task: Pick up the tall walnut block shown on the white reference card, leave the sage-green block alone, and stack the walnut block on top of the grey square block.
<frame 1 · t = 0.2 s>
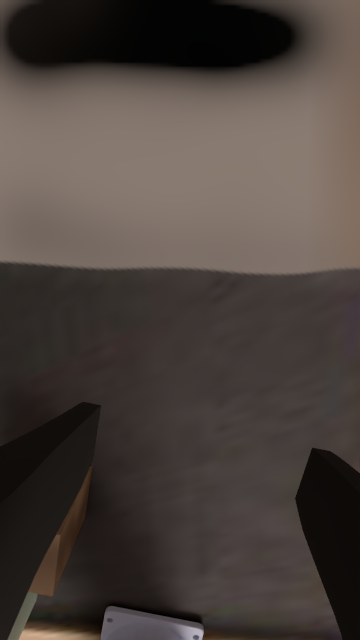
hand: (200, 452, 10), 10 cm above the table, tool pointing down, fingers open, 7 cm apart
sage block: (11, 572, 25), on the table
walnut block: (58, 486, 23), on the table
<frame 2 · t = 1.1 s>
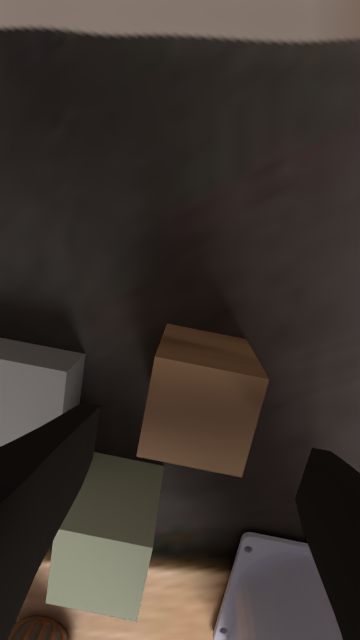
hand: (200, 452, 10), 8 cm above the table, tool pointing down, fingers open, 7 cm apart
grey square block: (25, 394, 19), on the table
sage block: (123, 488, 20), on the table
vase: (43, 632, 23), on the table
walnut block: (198, 368, 18), on the table
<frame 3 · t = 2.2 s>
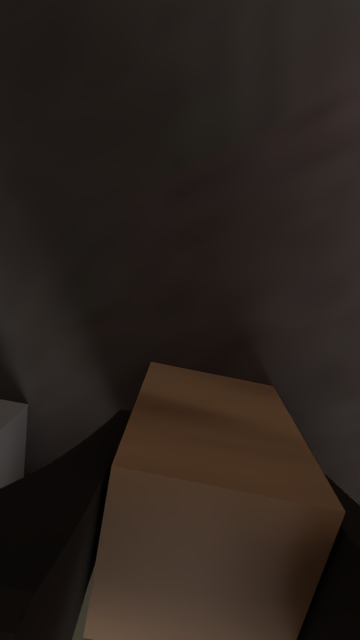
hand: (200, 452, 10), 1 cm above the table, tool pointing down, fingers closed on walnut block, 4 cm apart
sage block: (92, 590, 14), on the table
walnut block: (199, 428, 12), on the table, touching gripper
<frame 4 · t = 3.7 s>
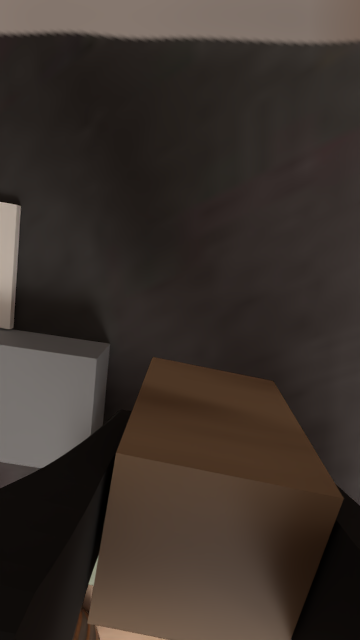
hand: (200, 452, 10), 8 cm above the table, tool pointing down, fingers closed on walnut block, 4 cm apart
grey square block: (52, 386, 20), on the table
vase: (68, 618, 24), on the table
walnut block: (200, 423, 12), point 7 cm above the table, touching gripper
when the fingers open (5 cm above the table, at t = 5.3 s): walnut block stays where it is, point 3 cm above the table.
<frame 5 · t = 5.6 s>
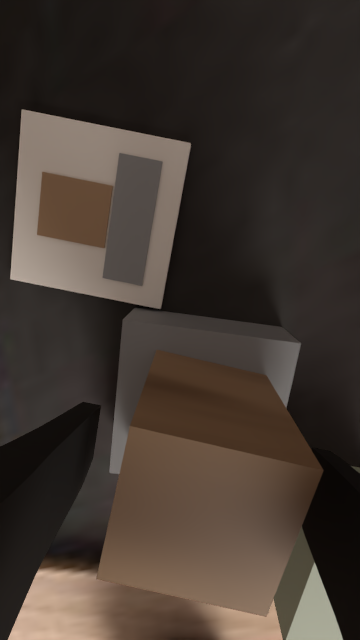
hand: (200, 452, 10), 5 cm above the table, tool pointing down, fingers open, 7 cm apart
grey square block: (197, 382, 16), on the table
sage block: (307, 494, 17), on the table
reference card: (98, 216, 14), on the table
walnut block: (198, 412, 13), point 3 cm above the table
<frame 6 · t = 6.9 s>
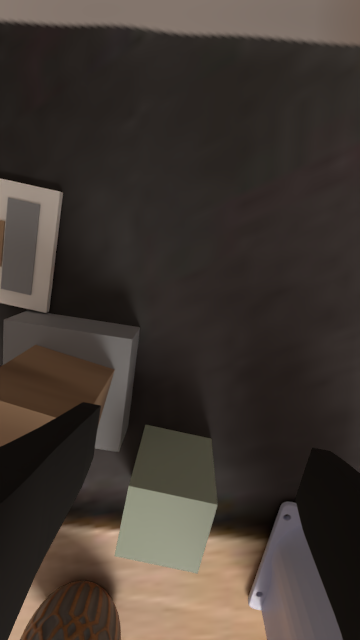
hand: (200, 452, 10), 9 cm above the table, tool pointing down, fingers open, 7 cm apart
grey square block: (82, 368, 20), on the table, touching walnut block
sage block: (171, 459, 21), on the table
vase: (86, 597, 25), on the table
walnut block: (66, 393, 18), point 3 cm above the table, touching grey square block
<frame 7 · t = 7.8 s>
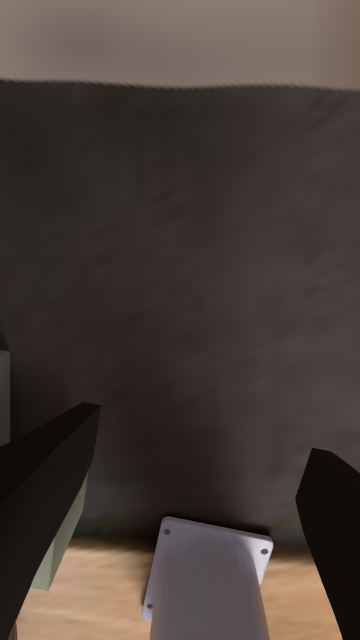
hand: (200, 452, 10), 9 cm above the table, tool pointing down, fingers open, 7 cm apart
sage block: (55, 477, 22), on the table
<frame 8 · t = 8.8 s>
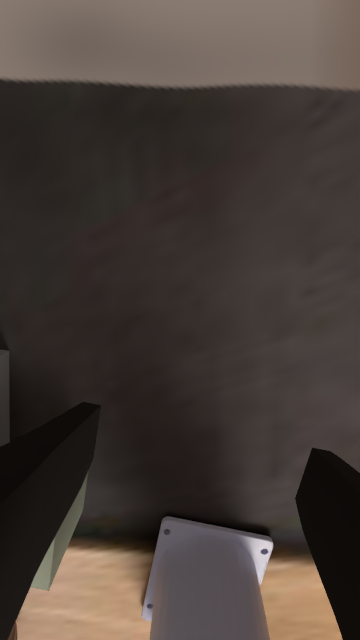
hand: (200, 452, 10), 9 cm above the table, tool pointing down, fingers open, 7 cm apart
sage block: (55, 477, 22), on the table
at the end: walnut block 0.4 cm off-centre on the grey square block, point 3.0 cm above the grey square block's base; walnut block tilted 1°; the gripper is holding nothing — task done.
